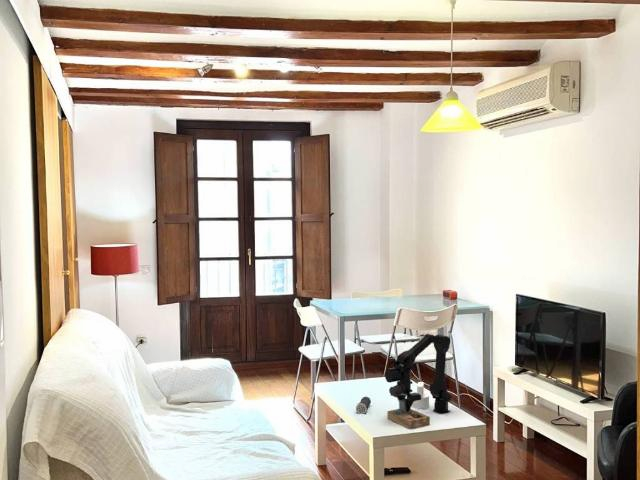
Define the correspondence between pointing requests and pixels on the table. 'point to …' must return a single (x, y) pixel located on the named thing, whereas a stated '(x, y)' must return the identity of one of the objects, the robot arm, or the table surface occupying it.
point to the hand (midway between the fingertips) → (404, 410)
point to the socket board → (409, 419)
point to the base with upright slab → (424, 398)
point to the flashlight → (363, 405)
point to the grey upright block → (403, 406)
